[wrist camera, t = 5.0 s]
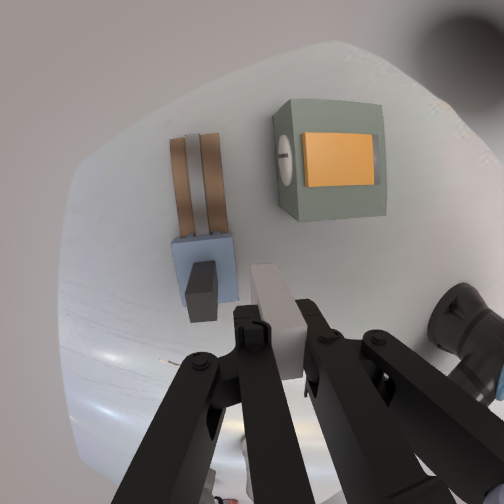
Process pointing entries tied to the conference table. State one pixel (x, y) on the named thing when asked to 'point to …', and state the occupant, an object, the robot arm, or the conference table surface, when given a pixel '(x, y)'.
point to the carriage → (205, 273)
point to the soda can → (230, 501)
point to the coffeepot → (209, 490)
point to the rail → (210, 180)
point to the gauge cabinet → (292, 159)
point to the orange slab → (340, 159)
